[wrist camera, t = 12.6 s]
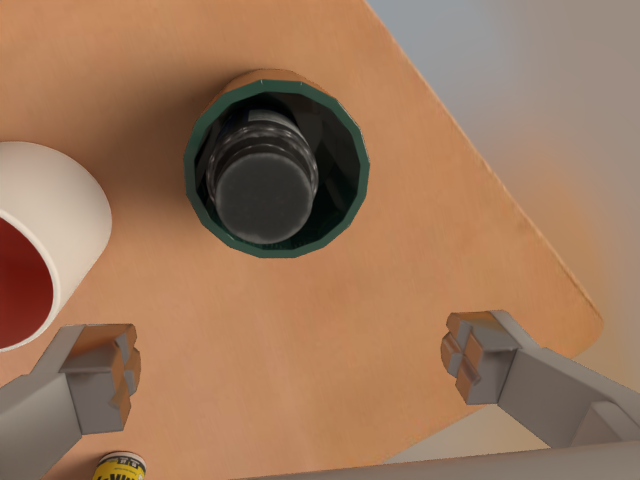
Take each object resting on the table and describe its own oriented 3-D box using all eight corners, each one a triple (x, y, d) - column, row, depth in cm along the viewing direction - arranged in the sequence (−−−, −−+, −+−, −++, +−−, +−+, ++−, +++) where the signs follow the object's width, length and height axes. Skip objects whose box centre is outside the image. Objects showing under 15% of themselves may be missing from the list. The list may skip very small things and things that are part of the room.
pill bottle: (246, 201, 31) (241, 278, 21) (199, 128, 28) (168, 178, 18) (318, 162, 30) (348, 222, 20) (278, 84, 27) (289, 110, 17)
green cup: (206, 208, 31) (190, 259, 24) (197, 63, 27) (175, 73, 20) (336, 210, 33) (358, 258, 26) (349, 73, 28) (380, 86, 21)
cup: (93, 130, 27) (15, 174, 19) (133, 258, 32) (85, 342, 23) (-66, 143, 27) (-228, 197, 18) (-2, 273, 31) (-105, 367, 22)
